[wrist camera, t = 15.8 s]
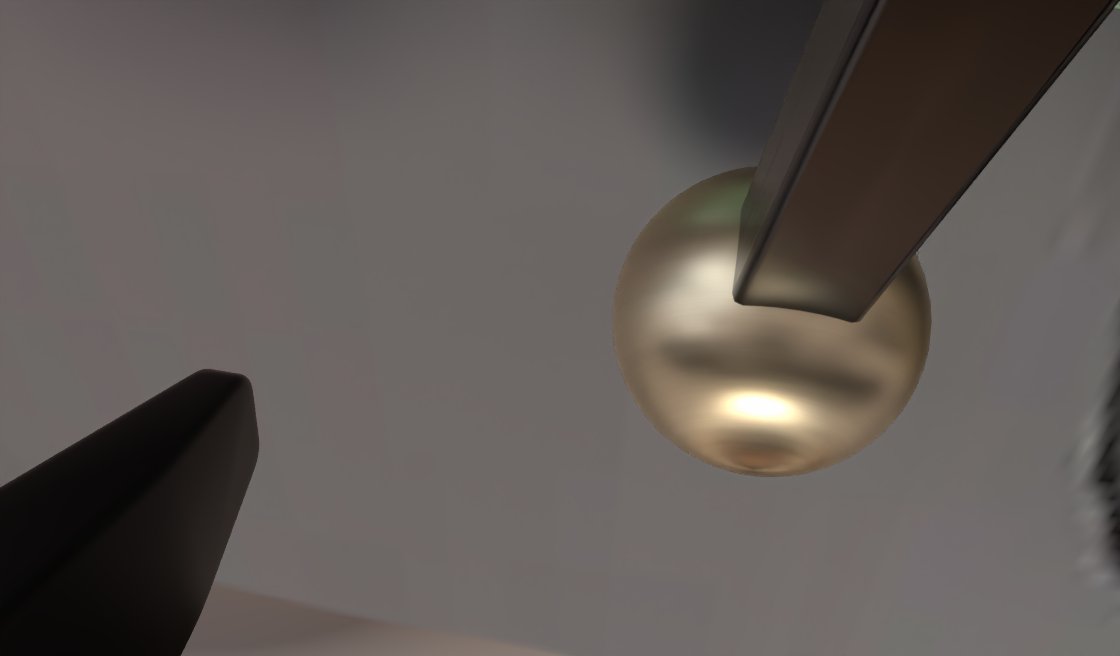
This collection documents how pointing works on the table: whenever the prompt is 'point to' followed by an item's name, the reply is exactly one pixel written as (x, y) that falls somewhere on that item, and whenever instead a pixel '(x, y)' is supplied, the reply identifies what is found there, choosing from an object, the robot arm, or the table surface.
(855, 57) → the toaster lever
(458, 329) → the table surface
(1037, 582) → the table surface
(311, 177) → the table surface
